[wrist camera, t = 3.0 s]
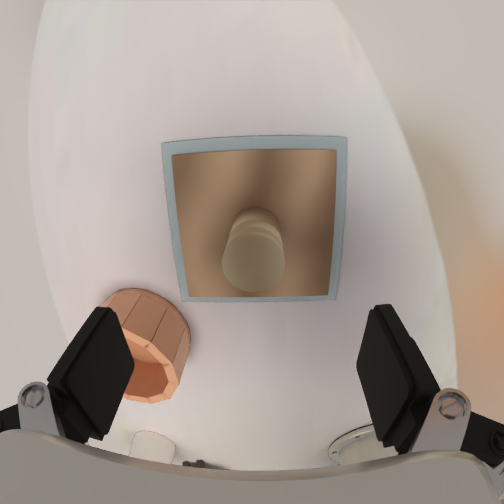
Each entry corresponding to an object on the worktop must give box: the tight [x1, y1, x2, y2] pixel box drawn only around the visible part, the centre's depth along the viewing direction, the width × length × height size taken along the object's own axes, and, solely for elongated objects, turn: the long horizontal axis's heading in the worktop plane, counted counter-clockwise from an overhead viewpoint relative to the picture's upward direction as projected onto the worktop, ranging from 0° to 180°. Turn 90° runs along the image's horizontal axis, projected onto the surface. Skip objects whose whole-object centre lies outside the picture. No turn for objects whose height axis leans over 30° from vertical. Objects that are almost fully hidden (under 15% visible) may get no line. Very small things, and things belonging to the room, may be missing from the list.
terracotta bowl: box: [100, 288, 190, 403], centre depth 26 cm, size 10×10×6 cm
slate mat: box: [161, 136, 347, 302], centre depth 23 cm, size 14×14×1 cm
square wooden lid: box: [171, 149, 337, 297], centre depth 20 cm, size 12×12×7 cm
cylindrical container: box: [128, 431, 176, 464], centre depth 28 cm, size 7×7×25 cm
